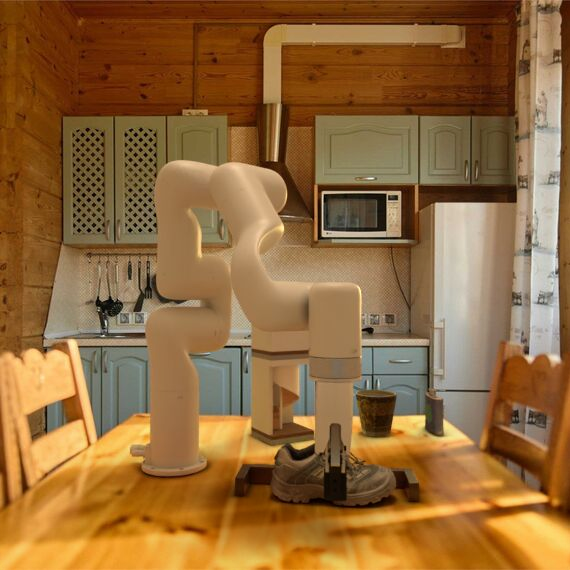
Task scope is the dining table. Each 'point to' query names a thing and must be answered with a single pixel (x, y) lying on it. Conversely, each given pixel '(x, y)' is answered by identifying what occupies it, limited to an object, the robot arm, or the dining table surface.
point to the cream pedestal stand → (277, 385)
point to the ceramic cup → (376, 411)
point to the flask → (433, 413)
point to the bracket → (264, 472)
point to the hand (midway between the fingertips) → (335, 498)
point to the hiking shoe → (310, 477)
